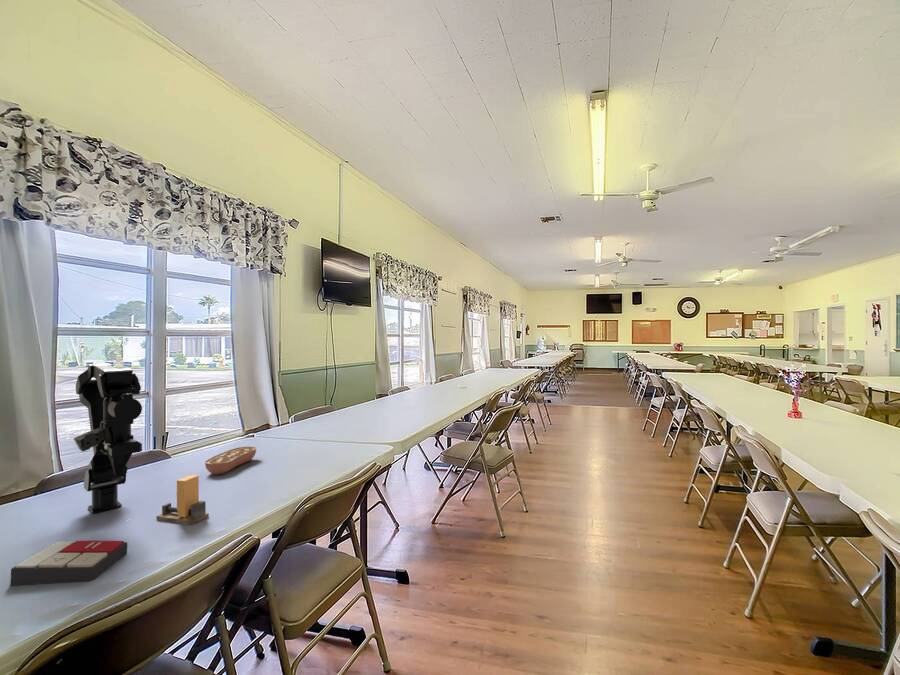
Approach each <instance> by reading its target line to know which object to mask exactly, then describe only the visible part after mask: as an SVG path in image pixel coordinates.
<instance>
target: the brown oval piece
mask: <svg viewBox="0 0 900 675" xmlns="http://www.w3.org/2000/svg"><path fill="white" fill-rule="evenodd" d="M256 453H257V448H256V446H240V447H235V448H233V449H232V448H231V449H229V450H226V451H224V452H221V453H218V454H217V455H214V456H212V457H210V458H208V459H206V460H205V461H204V464H205V469H206V470H207V471H208V472H209V473H210V474H212V475H217V476H218V475H219V474H220V475H223V474H225V473H227V472H229V471H230V470H232V469H234V468H236V467H238V466H240V465H242V464H245V463H247V462H250V461H251V460H252V459H253V458H254V457H255V455H256Z"/></svg>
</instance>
